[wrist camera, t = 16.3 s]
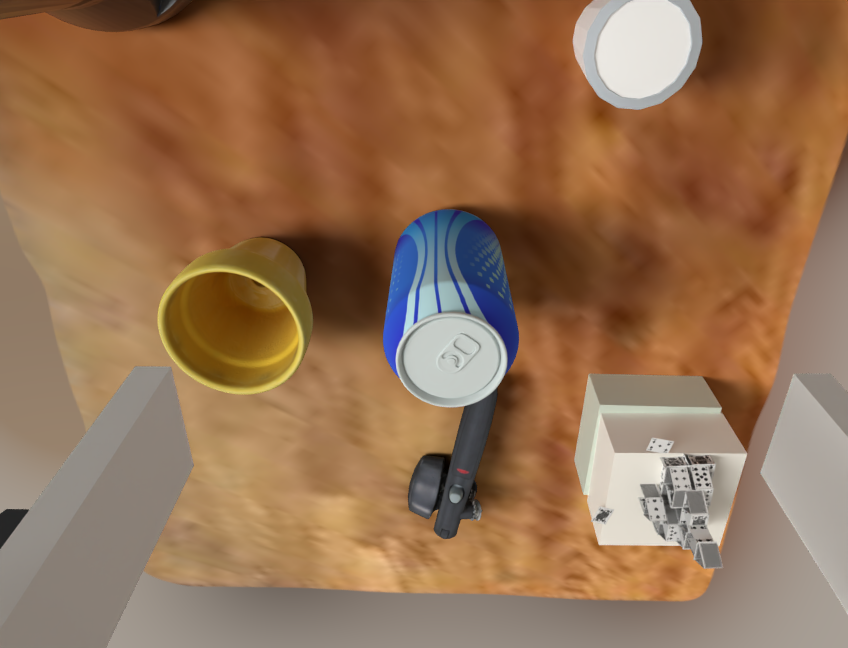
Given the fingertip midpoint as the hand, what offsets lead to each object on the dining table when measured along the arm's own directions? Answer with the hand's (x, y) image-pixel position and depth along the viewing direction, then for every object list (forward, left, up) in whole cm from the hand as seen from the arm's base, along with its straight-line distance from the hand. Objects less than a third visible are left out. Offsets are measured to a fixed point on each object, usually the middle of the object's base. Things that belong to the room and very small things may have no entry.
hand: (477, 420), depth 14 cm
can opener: (+2, -31, -37) cm, 49 cm away
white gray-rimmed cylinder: (+11, +4, -37) cm, 39 cm away
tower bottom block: (+18, -28, -37) cm, 50 cm away
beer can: (0, -12, -37) cm, 39 cm away
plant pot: (-15, -14, -37) cm, 42 cm away
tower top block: (+18, -29, -32) cm, 47 cm away
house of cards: (+16, -27, -27) cm, 42 cm away
